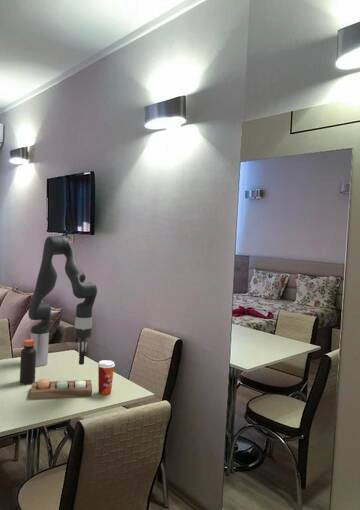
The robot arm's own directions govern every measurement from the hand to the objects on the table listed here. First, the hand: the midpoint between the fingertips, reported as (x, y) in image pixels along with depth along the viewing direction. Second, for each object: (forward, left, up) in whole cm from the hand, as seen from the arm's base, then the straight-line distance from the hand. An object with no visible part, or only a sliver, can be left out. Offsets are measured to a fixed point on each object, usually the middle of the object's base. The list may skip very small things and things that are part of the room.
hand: (81, 364), depth 185 cm
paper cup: (+2, +11, -13) cm, 17 cm away
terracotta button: (0, -16, -11) cm, 20 cm away
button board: (0, -8, -13) cm, 15 cm away
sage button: (0, -8, -12) cm, 15 cm away
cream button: (0, 0, -12) cm, 12 cm away
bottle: (-14, -24, -13) cm, 31 cm away
